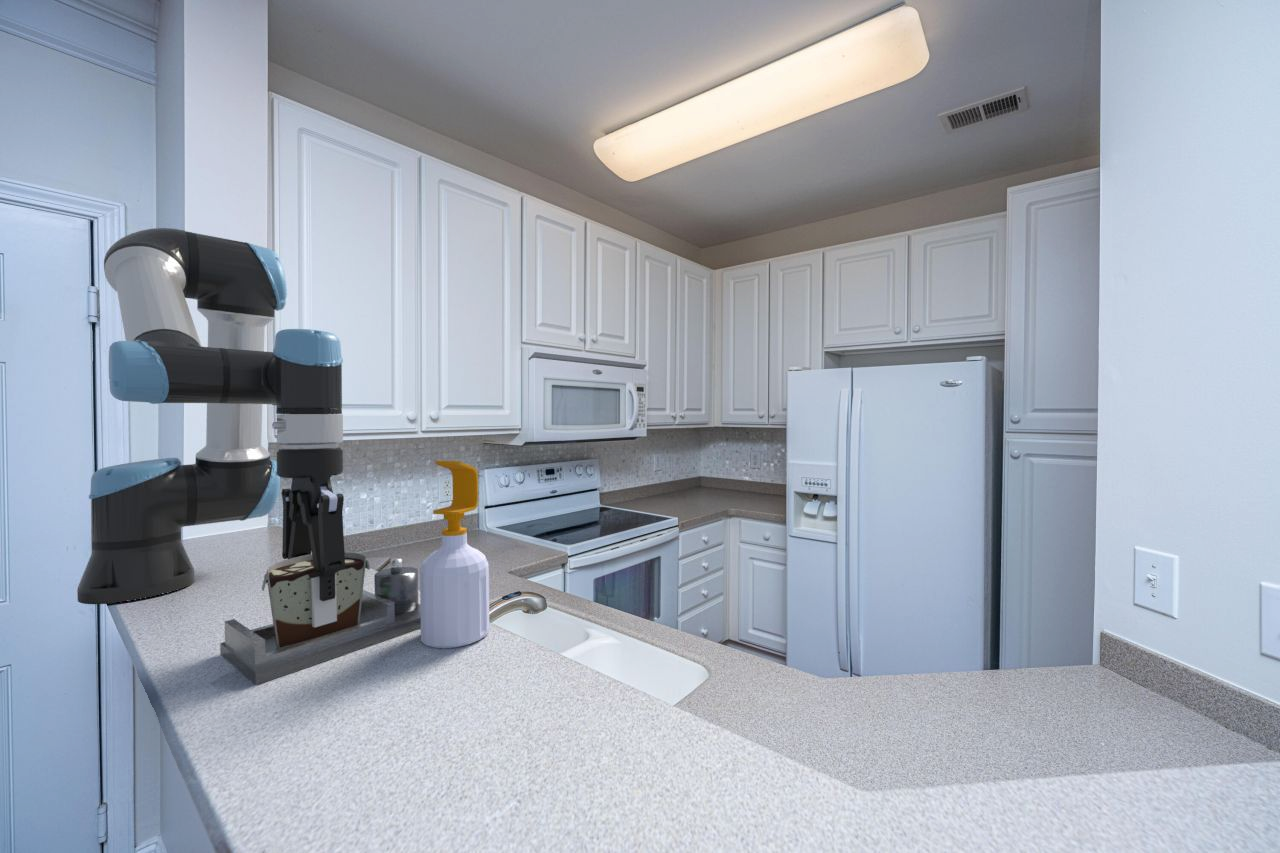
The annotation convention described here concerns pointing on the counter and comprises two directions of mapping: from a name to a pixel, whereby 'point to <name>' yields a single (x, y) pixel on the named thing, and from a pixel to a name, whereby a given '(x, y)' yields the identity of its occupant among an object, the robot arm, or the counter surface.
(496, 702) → the counter surface
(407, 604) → the tray
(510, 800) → the counter surface
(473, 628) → the soap bottle
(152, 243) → the robot arm
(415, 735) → the counter surface
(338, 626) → the food container
